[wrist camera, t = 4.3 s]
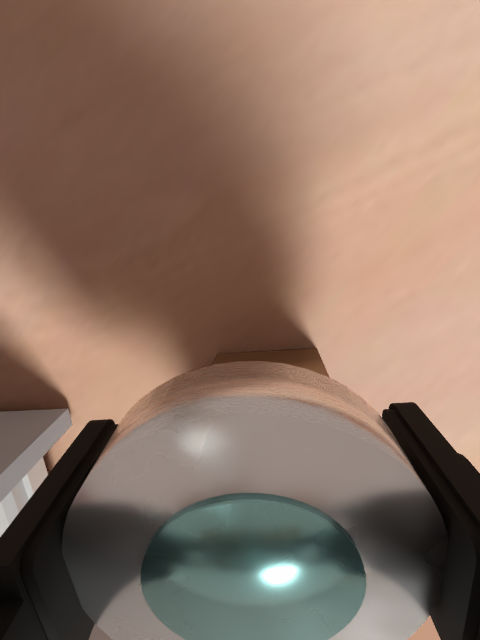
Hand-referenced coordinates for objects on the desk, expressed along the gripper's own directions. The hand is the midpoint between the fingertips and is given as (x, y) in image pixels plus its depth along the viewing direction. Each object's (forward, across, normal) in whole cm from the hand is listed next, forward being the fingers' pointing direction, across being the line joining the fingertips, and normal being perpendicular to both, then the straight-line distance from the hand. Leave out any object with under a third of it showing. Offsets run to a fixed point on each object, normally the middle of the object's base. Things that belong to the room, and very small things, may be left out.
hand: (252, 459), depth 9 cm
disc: (-1, 0, 0) cm, 1 cm away
